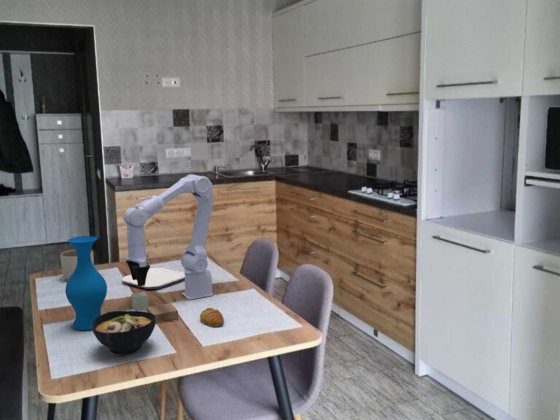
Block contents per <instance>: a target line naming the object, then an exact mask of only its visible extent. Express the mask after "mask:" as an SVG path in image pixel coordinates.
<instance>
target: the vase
mask: <svg viewBox="0 0 560 420" xmlns="http://www.w3.org/2000/svg"><path fill="white" fill-rule="evenodd" d="M97 240H98V237H97V236H92V235H83V236H74V237H71V238H68V239H67V242H68V243H69V244H71V246H72V247H73V248H74V249H75V250H76V252H77V265H76V268H75V270H74V272H73V274H72V275H71V277H70V278H69V280H67V282H66V285H65V291H64V292H65V295H66V296H65V297H66V298H67V301H68V303H69V304H70V305H71V306H72V309H73V310H74V313H75V320H73V323H72V328H73V329H75V330H79V331H91V330H92V331H93V329H92V323H93V320H94V319H95V318H96V317H98V316H100V315H102V312H101V311H102V306H103V304H104V302H105V299H106V298H107V292H108V284H107V282H106V280H105V278H104V276H102V274H101V273H100V272H99V271H98V270H97V269H96V268H95V265H94V266H93V264H92V261H91V250H92V248H93V245H94V244H95V242H96V241H97Z"/></svg>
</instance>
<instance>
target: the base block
mask: <svg viewBox="0 0 560 420" xmlns="http://www.w3.org/2000/svg"><path fill="white" fill-rule="evenodd" d="M146 312H148V313H152V314H154V315H155V320H156V322H155V325H158V324H157V323H160V324H163V323H162V322H165V323H169V322H168V321H170V322H174V321H173V320H176V321H179V310H178V309H177V308H176V307H175V306H174V305H173V304H172V303H170V302H169V303H165V304H164V303H163V304H158V305H153V306H148V307H147V309H146Z"/></svg>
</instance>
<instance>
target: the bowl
mask: <svg viewBox="0 0 560 420" xmlns="http://www.w3.org/2000/svg"><path fill="white" fill-rule="evenodd" d="M155 322H156V320H155V315H154V314H152V313H148V312H147V311H142V310H141V311H135V310H115V311H114V310H113V311H108V312H105V313H101V315H100V316H98V317H96V318H95V319H94V320H93V323H92V332H93V334H94V336H95V338H96V340H97V341H98V342H99V343H100V344H101V345H102V346H103V347H105V348H106V349H108V350H109V351H110V353H111V354H112V355H115V356H128V355H132V354H135V353H137V352H140V351H141V349H142V347H143V345H144V344H145V343H146V342H147V341H148V340H149V338H150V337H151V336H152V334H153V331H154V329H155V327H156V324H155Z"/></svg>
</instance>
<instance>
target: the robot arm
mask: <svg viewBox="0 0 560 420" xmlns="http://www.w3.org/2000/svg"><path fill="white" fill-rule="evenodd" d="M181 194H191V195H192V196H193V197H194V198H195V200H196V201H197V207H196V213H195V217H194V221H193V226H192V231H191V237H190V242H189V244H188V245H187V246H185V250H184V252H183V254H182V255H181V258H180V264H181V266H182V267H183V268H184V272H183V273H185V278H184V292H183V291H181V294H182V296H183V297H184V298H186V299H188V300H190V301H191V300H194V299H195V300H196V299H201V298H207V297H212V296H214V293H213V277H212V273H211V271H210V270H208V269H207V268H208V259H207V258H208V253H207V250H206V247H205V246H206V241H207V237H208V232H209V228H210V222H211V217H212V214H213V213H212V212H213V208H214V202H215V197H214V192H213V183H212V182H211V180H210V179H209V178H208V177H207V176H205V175H196V174H193V173H191V174H186V176H184V177H182V178H180V179H179V180H178V181H177V182H176V183H174V184H173V185H172V186H170V187H169V188H167V189H166V190H165V191H163V192H161V194H159V195H155V194H154V195H153V194H152V195H148V196H147V197H146V199H145V200H143V201H142V202H140V203H136V204H135V205H134V207H129V208H127V210H126V211H125V212H124V215H123V216H122V219H123V221H124V223H125V224H126V239H127V241H126V242H127V254H128V256H125V257H124V260H125V262H126V264H127V266H128V268H129V271H130V275H131V276H132V279H133V280H137V283H138V286H144V285H145V283H146V277H147V273H148V270H149V269H151V265H150V264H147V261H146V260H147V253H146V235H145V234H146V233H145V224H146V223H147V221H148V220H149V219H150V218H151V217H153V216H155V215H156V214H158V213H159V212H160V211H162V210H163V209H164V206H165V204H167V203H168V202H170V201H172V200H173V199H176V198H177V197H178V196H181Z"/></svg>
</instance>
